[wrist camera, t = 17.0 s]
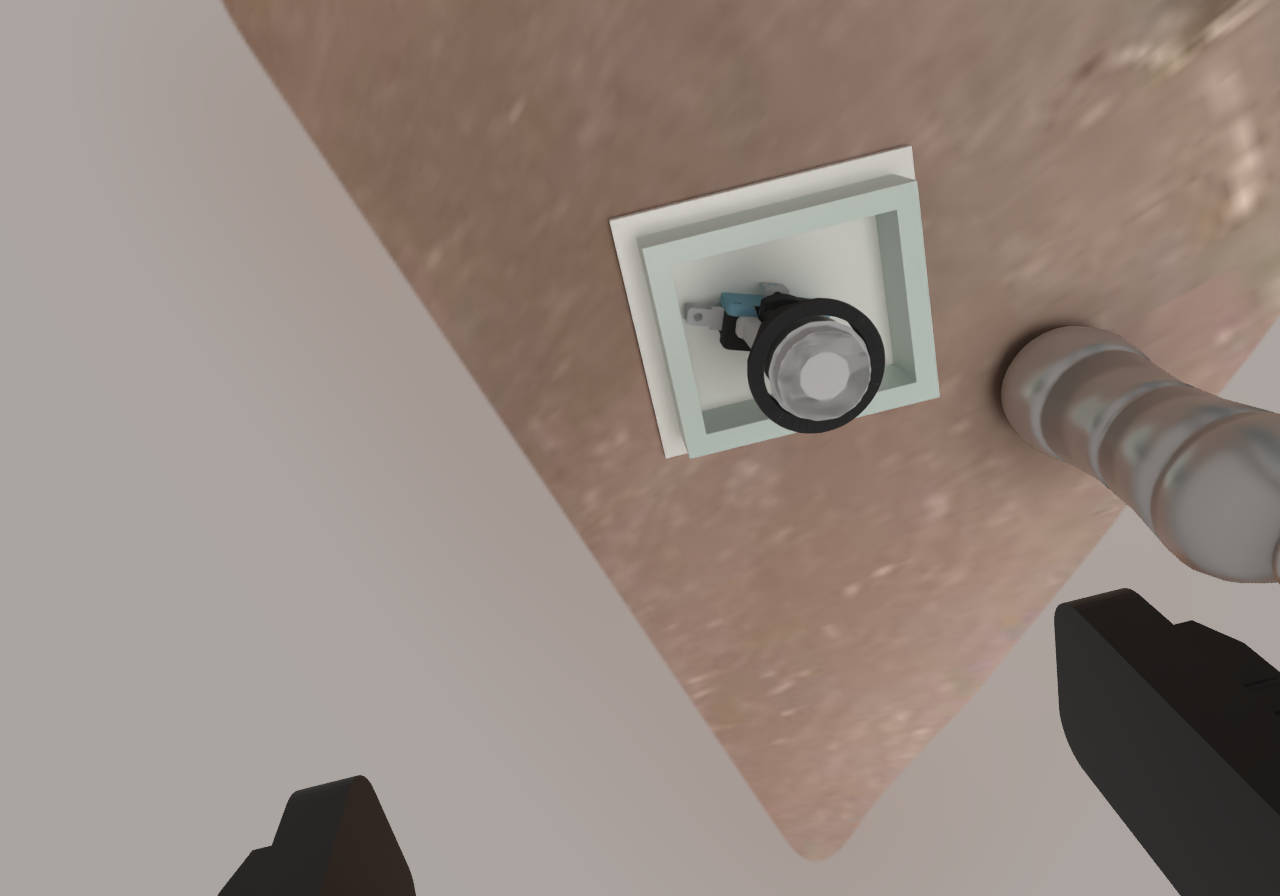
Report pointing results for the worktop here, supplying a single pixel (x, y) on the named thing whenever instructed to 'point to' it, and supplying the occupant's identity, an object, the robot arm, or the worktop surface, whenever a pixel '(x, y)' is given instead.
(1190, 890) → the robot arm
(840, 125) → the worktop surface
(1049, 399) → the plastic bottle
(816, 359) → the push button
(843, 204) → the dock
